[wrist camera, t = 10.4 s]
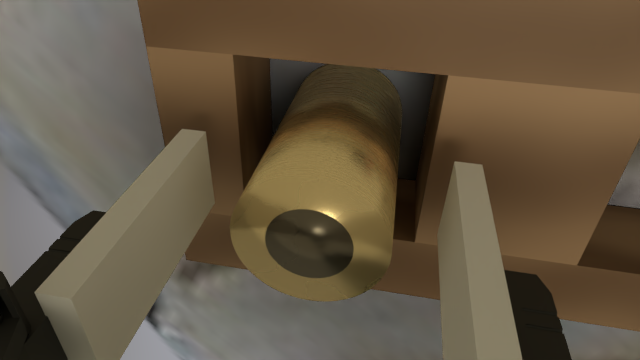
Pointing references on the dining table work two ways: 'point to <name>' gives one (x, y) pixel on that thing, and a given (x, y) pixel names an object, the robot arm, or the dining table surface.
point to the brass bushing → (325, 189)
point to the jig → (438, 123)
